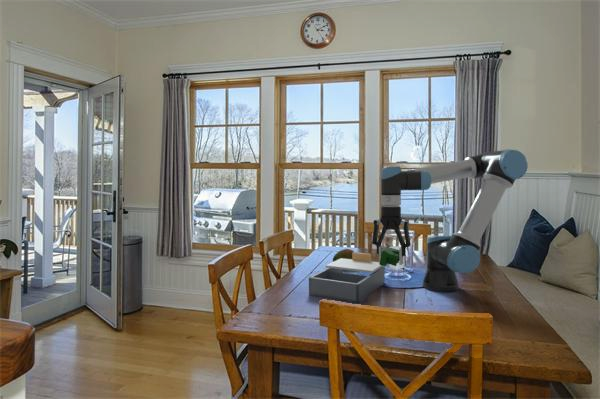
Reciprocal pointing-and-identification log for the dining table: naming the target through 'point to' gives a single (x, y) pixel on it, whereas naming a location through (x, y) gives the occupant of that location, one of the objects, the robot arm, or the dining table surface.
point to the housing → (345, 284)
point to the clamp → (389, 257)
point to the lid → (356, 263)
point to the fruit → (343, 254)
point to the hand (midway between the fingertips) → (390, 263)
